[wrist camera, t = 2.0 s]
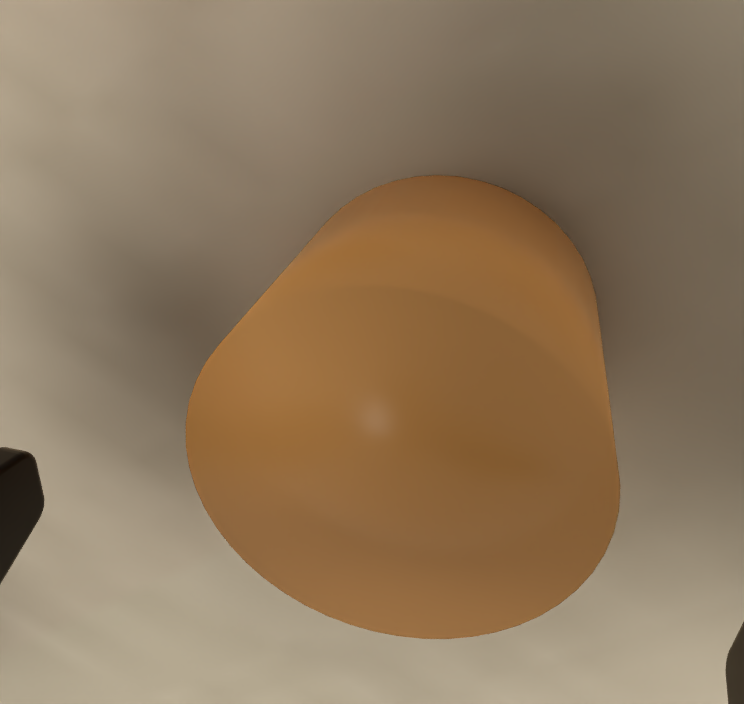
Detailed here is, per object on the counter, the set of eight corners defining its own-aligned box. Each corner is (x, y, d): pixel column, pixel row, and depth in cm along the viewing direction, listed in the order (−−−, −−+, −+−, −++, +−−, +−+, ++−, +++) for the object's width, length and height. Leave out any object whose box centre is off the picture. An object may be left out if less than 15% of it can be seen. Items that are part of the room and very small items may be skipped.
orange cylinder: (562, 471, 15) (565, 677, 11) (294, 420, 16) (198, 589, 11) (634, 198, 12) (680, 330, 8) (297, 154, 13) (169, 250, 8)
